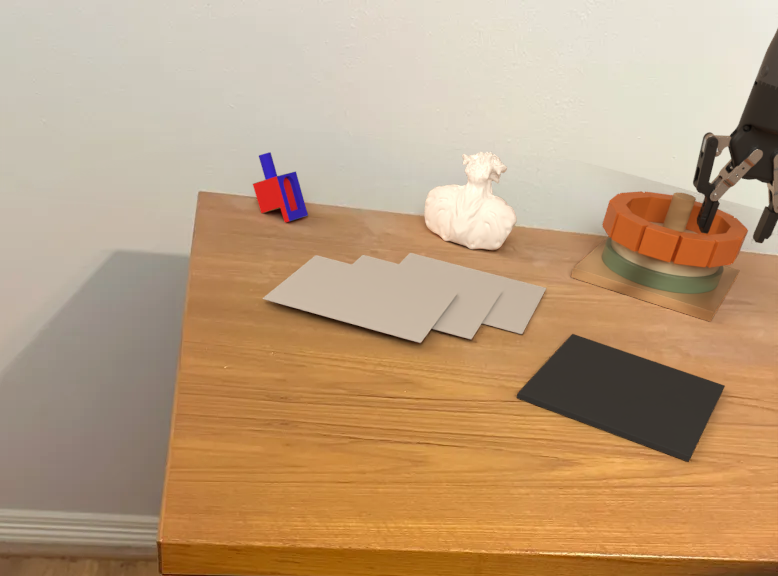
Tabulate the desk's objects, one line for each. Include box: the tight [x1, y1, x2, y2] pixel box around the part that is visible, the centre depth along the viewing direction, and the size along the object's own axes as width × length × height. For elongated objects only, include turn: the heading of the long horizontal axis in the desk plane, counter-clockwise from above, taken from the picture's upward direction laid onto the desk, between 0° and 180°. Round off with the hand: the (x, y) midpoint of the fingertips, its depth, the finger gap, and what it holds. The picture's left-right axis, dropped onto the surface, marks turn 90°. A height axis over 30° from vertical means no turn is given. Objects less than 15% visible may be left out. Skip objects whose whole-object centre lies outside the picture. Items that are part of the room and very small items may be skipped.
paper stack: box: [261, 252, 547, 344], centre depth 92 cm, size 23×25×1 cm
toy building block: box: [252, 152, 309, 223], centre depth 105 cm, size 4×4×8 cm
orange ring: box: [601, 191, 749, 268], centre depth 103 cm, size 16×16×3 cm
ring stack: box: [570, 192, 740, 323], centre depth 104 cm, size 17×17×10 cm
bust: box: [423, 151, 518, 251], centre depth 106 cm, size 12×8×11 cm
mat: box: [516, 333, 726, 463], centre depth 81 cm, size 16×16×1 cm
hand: (730, 235), depth 103 cm, fingers open, 6 cm apart
